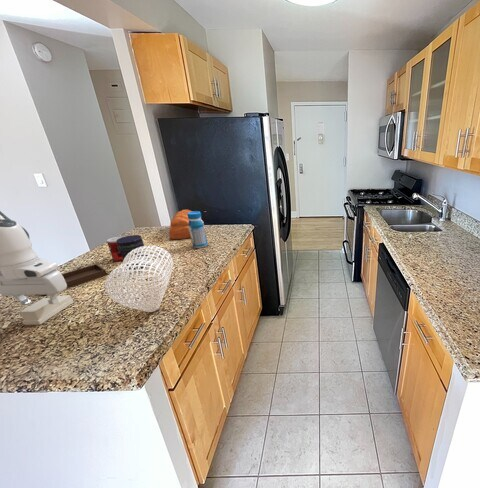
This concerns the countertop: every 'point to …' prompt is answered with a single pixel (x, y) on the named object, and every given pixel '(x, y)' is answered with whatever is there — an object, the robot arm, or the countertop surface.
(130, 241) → the storage jar
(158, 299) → the white mesh basket
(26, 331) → the countertop surface
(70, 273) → the tray
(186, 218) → the bread
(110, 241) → the canned food
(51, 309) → the white block
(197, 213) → the beverage bottle
